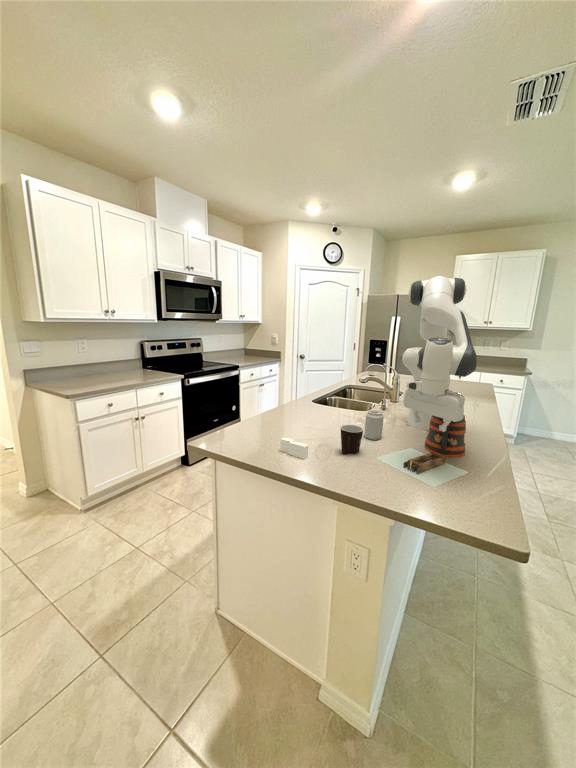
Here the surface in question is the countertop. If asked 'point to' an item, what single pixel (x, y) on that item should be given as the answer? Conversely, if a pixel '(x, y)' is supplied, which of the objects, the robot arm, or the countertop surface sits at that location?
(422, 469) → the dark brown long piece
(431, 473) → the wall panel
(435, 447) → the striped backpack
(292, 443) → the napkin holder
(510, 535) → the countertop surface
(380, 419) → the can
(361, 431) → the coffee mug
